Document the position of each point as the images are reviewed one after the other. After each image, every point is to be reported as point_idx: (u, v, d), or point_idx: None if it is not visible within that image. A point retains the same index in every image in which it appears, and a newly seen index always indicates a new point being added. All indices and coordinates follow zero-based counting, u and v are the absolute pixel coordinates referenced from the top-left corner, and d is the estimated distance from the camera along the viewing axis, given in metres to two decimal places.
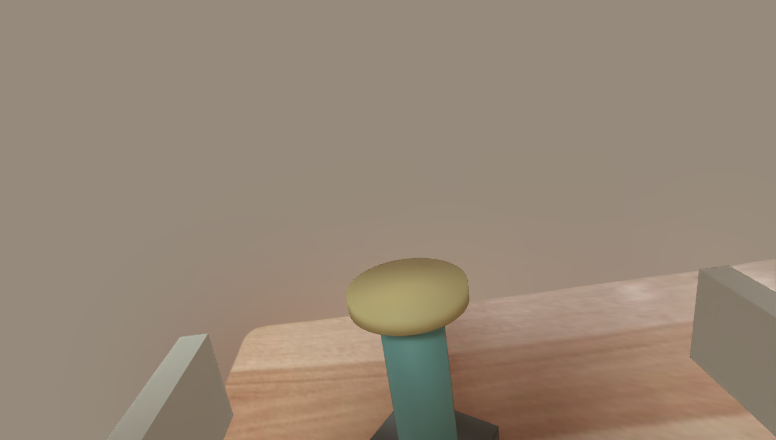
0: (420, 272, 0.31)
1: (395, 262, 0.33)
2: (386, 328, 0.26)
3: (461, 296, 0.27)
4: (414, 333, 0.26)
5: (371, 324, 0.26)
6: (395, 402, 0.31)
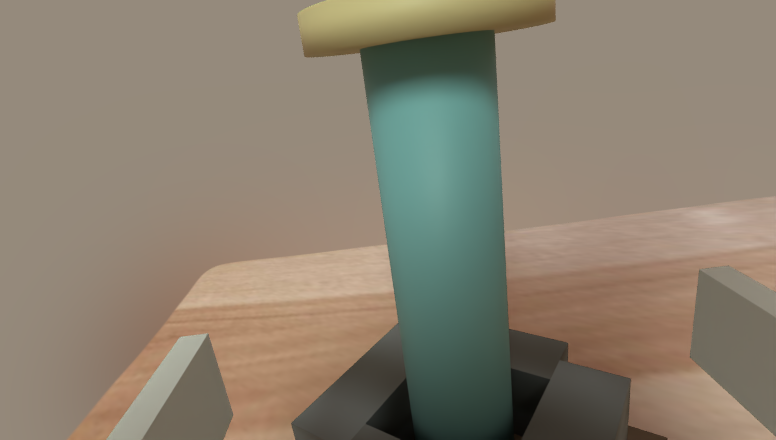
0: None
1: None
2: (380, 19, 0.11)
3: None
4: (445, 27, 0.11)
5: (344, 22, 0.11)
6: (397, 260, 0.16)
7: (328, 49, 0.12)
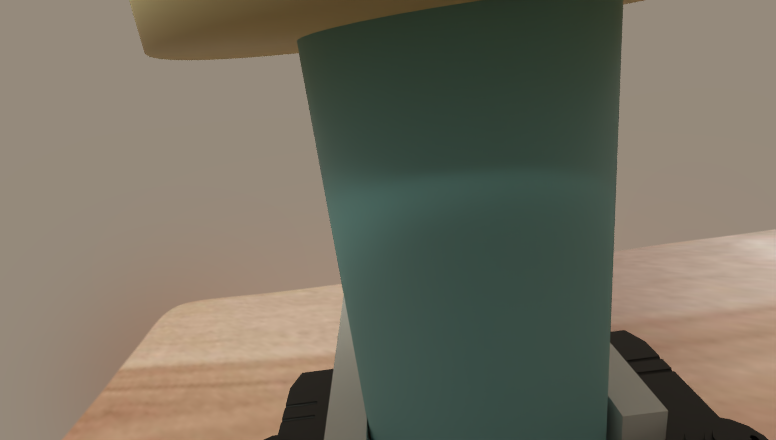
0: None
1: None
2: None
3: None
4: None
5: None
6: None
7: (165, 37, 0.04)
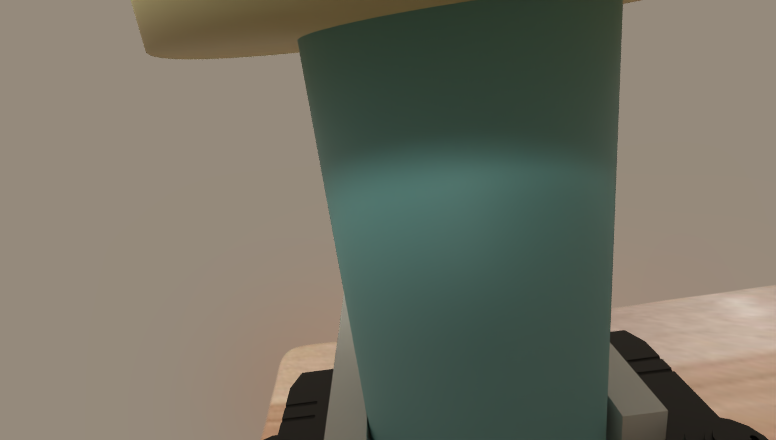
0: None
1: None
2: None
3: None
4: None
5: None
6: None
7: (167, 36, 0.04)
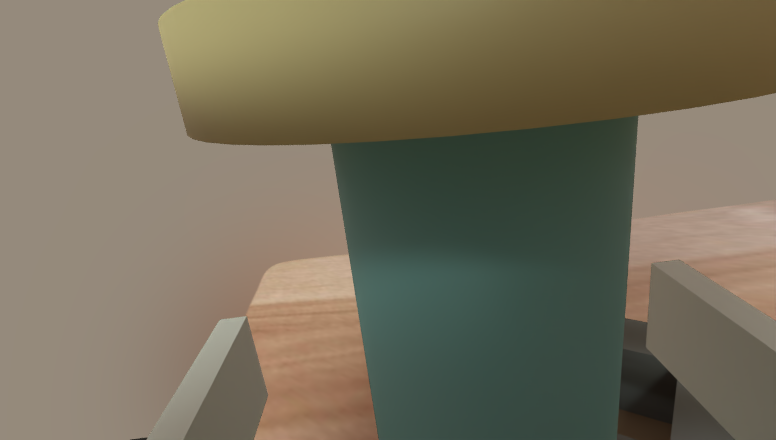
0: None
1: None
2: (365, 70, 0.03)
3: None
4: (612, 104, 0.03)
5: (249, 70, 0.03)
6: None
7: (216, 140, 0.04)
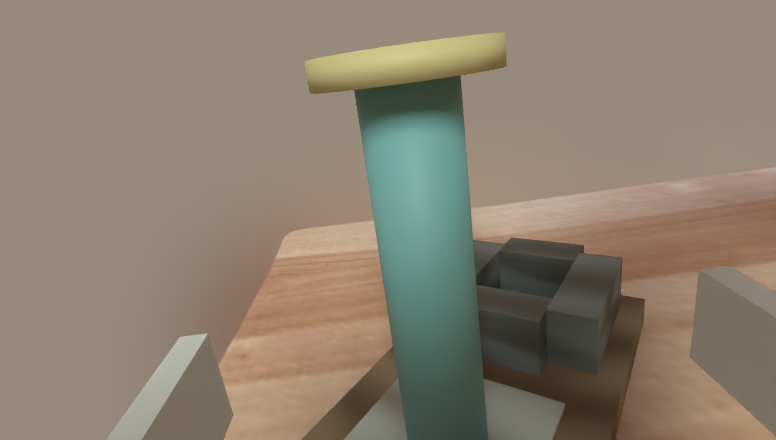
0: None
1: None
2: (368, 72, 0.15)
3: (497, 33, 0.16)
4: (417, 78, 0.15)
5: (342, 73, 0.15)
6: (385, 255, 0.20)
7: (329, 91, 0.16)
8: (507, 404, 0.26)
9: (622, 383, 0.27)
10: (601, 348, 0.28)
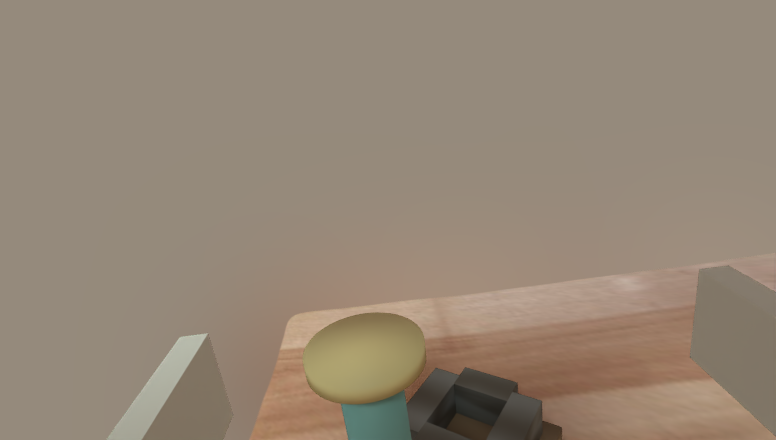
0: (379, 331, 0.30)
1: (357, 317, 0.33)
2: (339, 396, 0.26)
3: (415, 362, 0.27)
4: (366, 402, 0.26)
5: (324, 391, 0.26)
6: None
7: (317, 393, 0.27)
8: None
9: None
10: None
